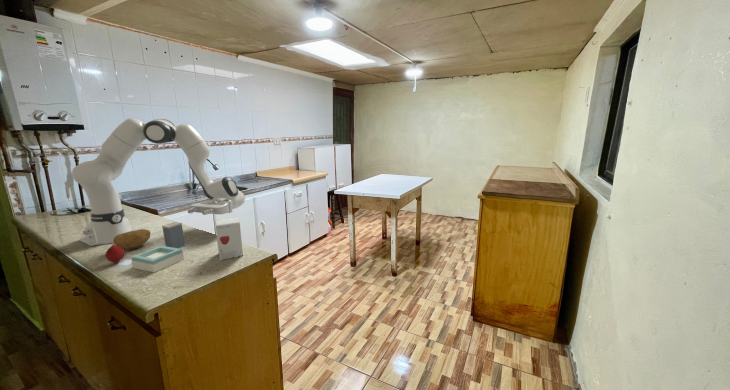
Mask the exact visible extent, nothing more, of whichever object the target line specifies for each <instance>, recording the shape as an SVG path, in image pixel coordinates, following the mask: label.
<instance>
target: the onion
mask: <svg viewBox="0 0 730 390" xmlns="http://www.w3.org/2000/svg"><path fill="white" fill-rule="evenodd" d="M125 255H126V251H125V249H123V248H121V247H119V246H116V244H114V243H112V244H111V246H110V247H109V248H107V250H106V252H105V258H106V260H107V261H109V262H111V263H116V264H118V263H119V262H121V260H122V259H123V258H124V257H125Z"/></svg>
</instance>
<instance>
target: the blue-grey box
mask: <svg viewBox="0 0 730 390" xmlns="http://www.w3.org/2000/svg"><path fill="white" fill-rule="evenodd" d="M161 227H162V233H163V238H164V244H165V245H164V246H166V247H172V248H178V249H182V248H183V247H185V246H186V244H185V238H184V237H185V236H184V230H183V223H182V222H178V221H173V222H170V223H168V224H165V225H162V226H161Z"/></svg>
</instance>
